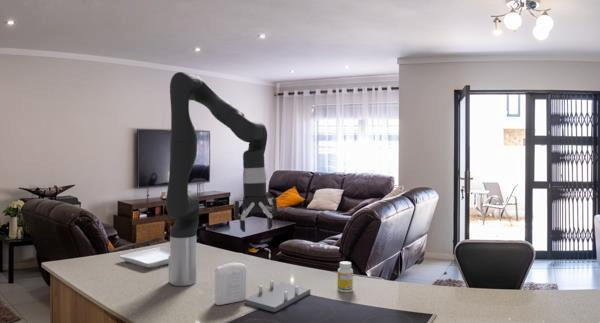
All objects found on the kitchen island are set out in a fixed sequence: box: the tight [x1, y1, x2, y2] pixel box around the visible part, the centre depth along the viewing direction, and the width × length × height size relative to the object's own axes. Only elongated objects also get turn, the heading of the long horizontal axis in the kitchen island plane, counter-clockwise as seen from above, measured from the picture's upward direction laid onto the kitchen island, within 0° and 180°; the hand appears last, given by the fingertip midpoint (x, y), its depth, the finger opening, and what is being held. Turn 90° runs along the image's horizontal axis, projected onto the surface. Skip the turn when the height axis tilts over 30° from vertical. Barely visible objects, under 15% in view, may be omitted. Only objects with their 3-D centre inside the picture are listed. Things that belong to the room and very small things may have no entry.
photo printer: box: [214, 262, 247, 306], centre depth 138 cm, size 10×4×12 cm, turn 123°
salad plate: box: [119, 246, 170, 269], centre depth 184 cm, size 21×21×3 cm
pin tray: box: [243, 280, 311, 313], centre depth 141 cm, size 12×20×4 cm, turn 146°
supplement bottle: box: [337, 260, 354, 293], centre depth 149 cm, size 5×5×10 cm
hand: (256, 230), depth 142 cm, fingers open, 8 cm apart
